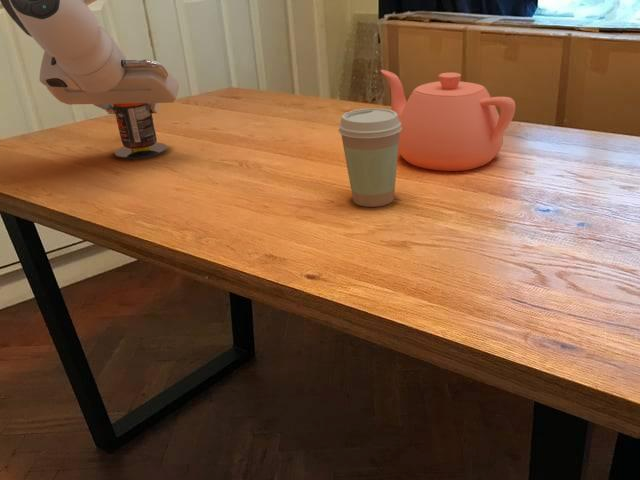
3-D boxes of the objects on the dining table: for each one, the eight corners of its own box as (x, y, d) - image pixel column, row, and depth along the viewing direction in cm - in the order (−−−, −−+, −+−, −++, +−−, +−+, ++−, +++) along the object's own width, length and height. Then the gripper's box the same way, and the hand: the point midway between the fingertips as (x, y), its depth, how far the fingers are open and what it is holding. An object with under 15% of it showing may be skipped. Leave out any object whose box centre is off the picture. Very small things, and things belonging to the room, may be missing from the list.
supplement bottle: (117, 145, 118) (102, 80, 113) (148, 138, 121) (135, 74, 116) (131, 151, 114) (116, 84, 109) (163, 144, 117) (150, 79, 112)
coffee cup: (395, 186, 98) (393, 105, 92) (410, 207, 91) (408, 119, 85) (339, 192, 97) (333, 110, 91) (348, 214, 89) (343, 125, 83)
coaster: (104, 155, 117) (103, 153, 117) (142, 142, 124) (142, 140, 124) (140, 162, 113) (139, 159, 113) (178, 147, 120) (177, 145, 120)
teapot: (354, 157, 111) (349, 75, 105) (412, 133, 122) (411, 58, 116) (484, 184, 97) (487, 92, 91) (535, 154, 109) (542, 70, 102)
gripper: (161, 43, 102) (194, 93, 115) (36, 46, 104) (82, 95, 117) (156, 78, 100) (189, 125, 114) (29, 81, 102) (76, 127, 115)
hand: (134, 110), depth 115 cm, fingers closed on supplement bottle, 6 cm apart
